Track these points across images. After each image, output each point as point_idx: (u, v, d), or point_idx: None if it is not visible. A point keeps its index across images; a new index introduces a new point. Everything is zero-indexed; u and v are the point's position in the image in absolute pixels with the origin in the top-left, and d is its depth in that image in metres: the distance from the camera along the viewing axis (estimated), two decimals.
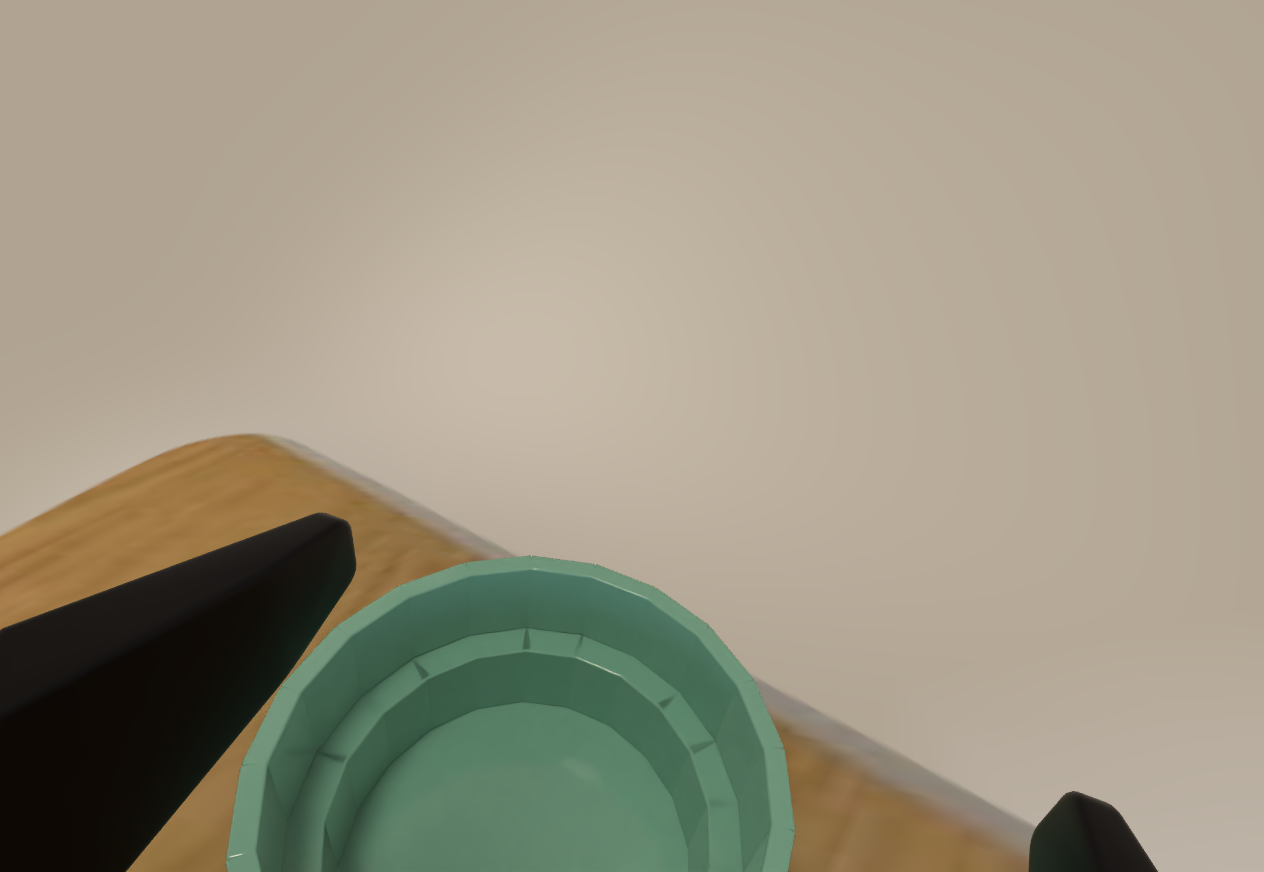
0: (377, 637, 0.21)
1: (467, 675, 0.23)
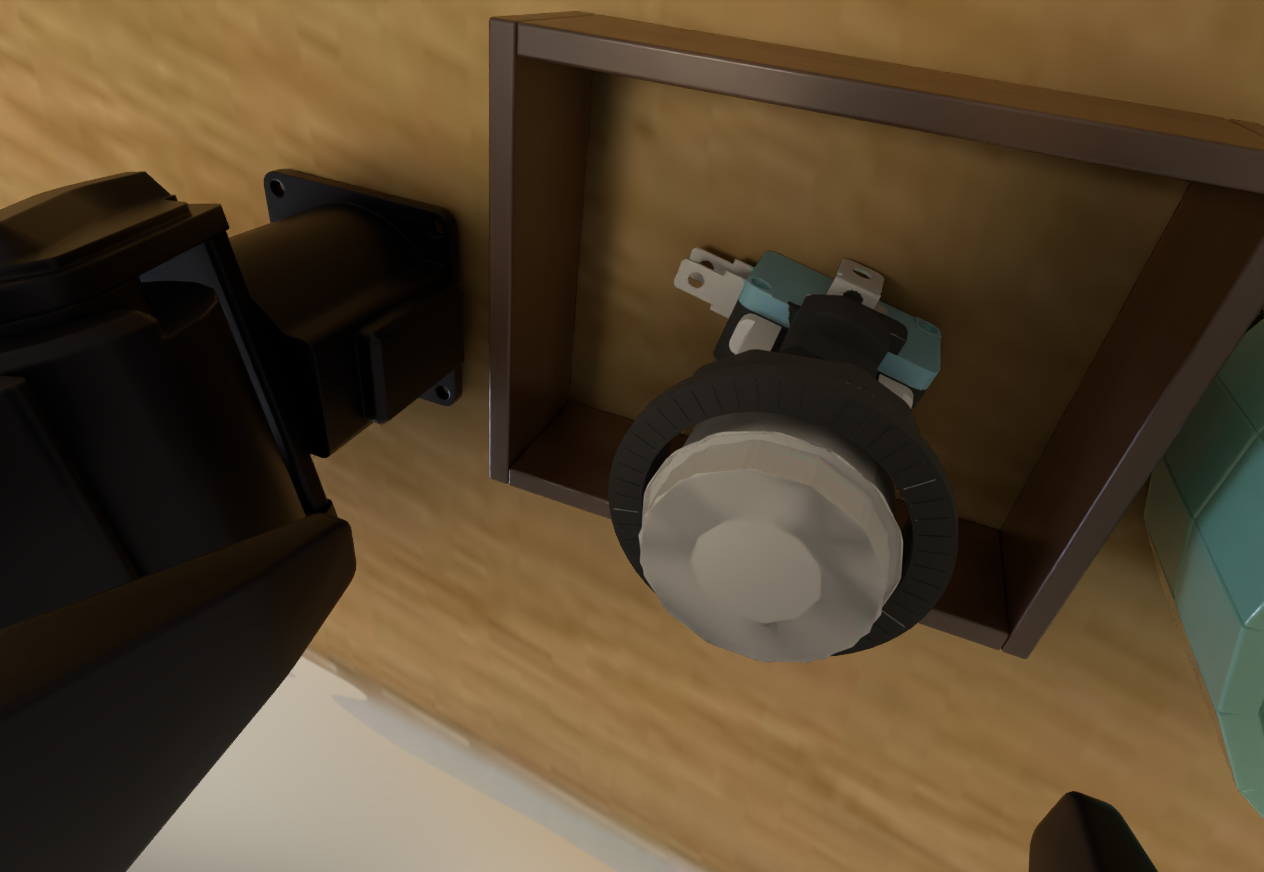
0: None
1: None
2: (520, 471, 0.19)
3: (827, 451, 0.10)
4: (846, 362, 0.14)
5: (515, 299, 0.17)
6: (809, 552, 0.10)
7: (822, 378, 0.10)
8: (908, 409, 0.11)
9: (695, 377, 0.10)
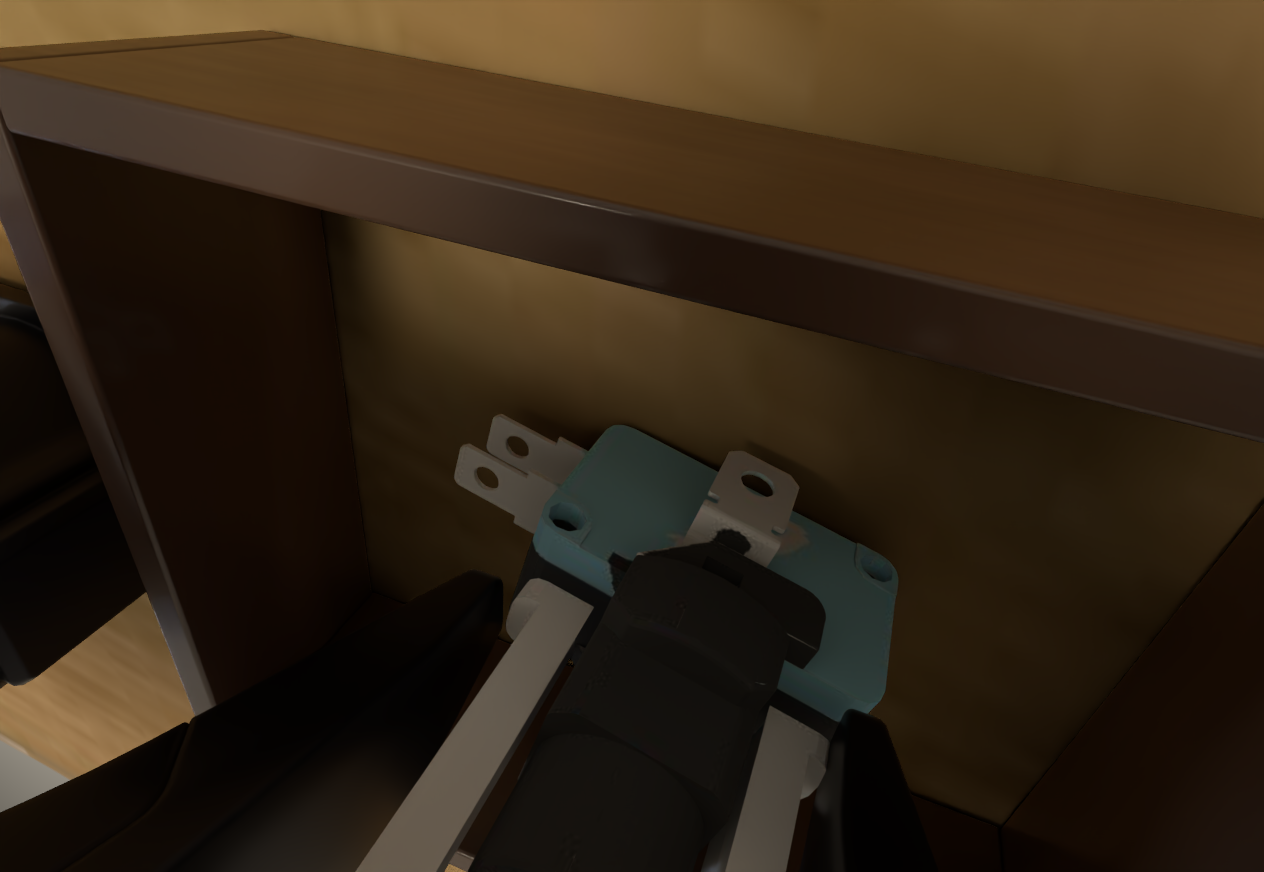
0: None
1: None
2: None
3: None
4: (678, 744, 0.07)
5: (168, 529, 0.10)
6: None
7: None
8: None
9: None
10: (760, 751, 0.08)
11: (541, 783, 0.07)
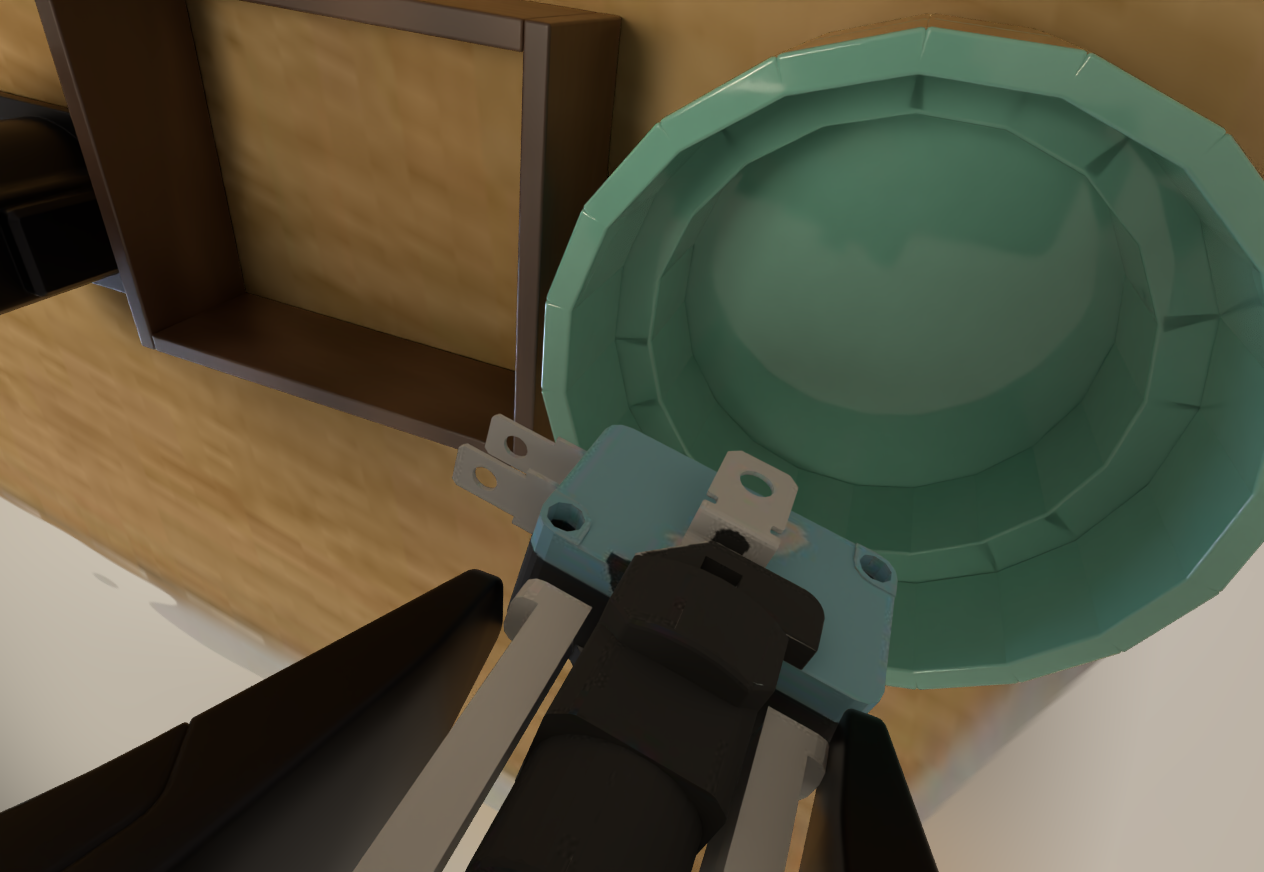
0: None
1: None
2: (161, 337, 0.23)
3: None
4: (675, 744, 0.07)
5: (111, 177, 0.20)
6: None
7: None
8: None
9: None
10: (758, 752, 0.08)
11: (538, 784, 0.07)
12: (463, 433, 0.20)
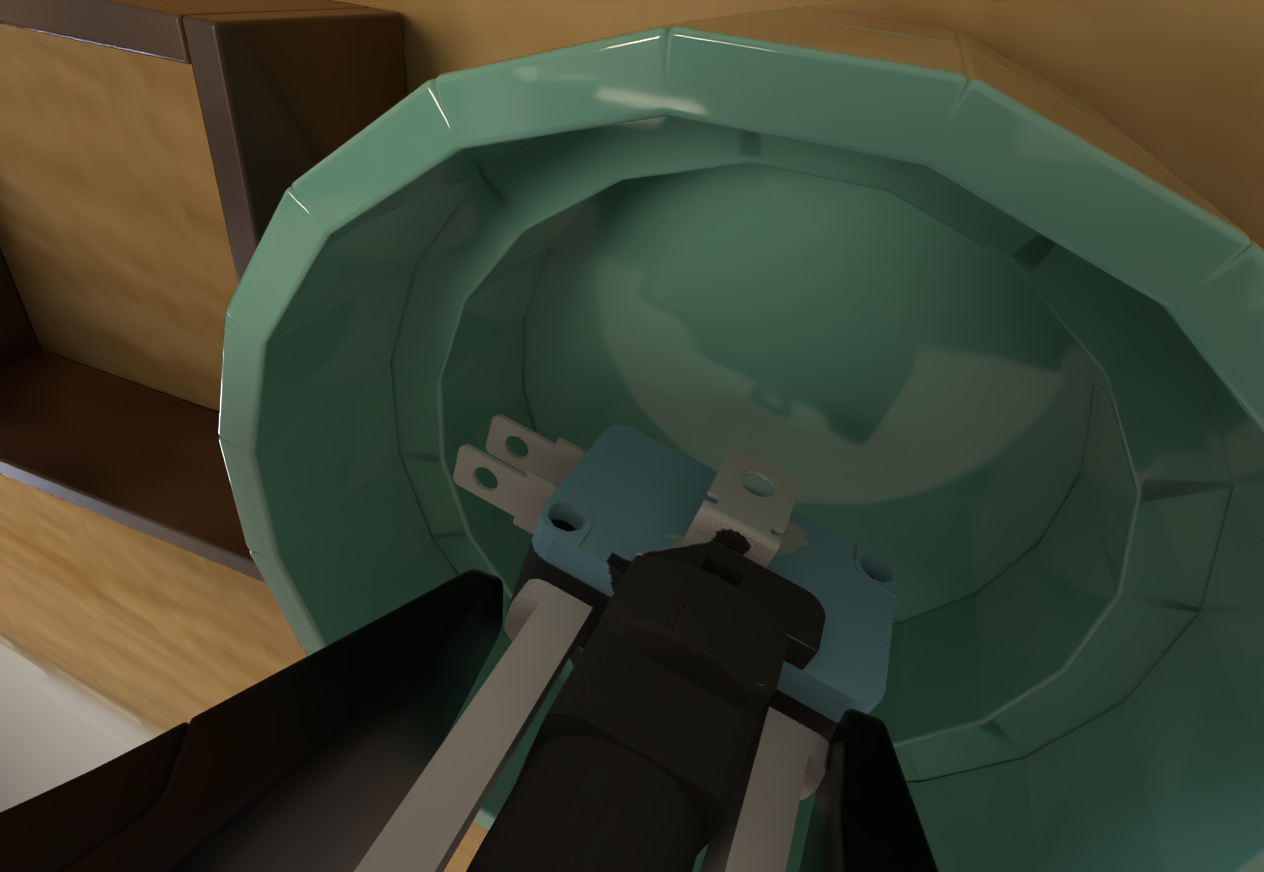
0: None
1: None
2: None
3: None
4: (676, 744, 0.07)
5: None
6: None
7: None
8: None
9: None
10: (759, 752, 0.08)
11: (539, 784, 0.07)
12: (243, 554, 0.16)
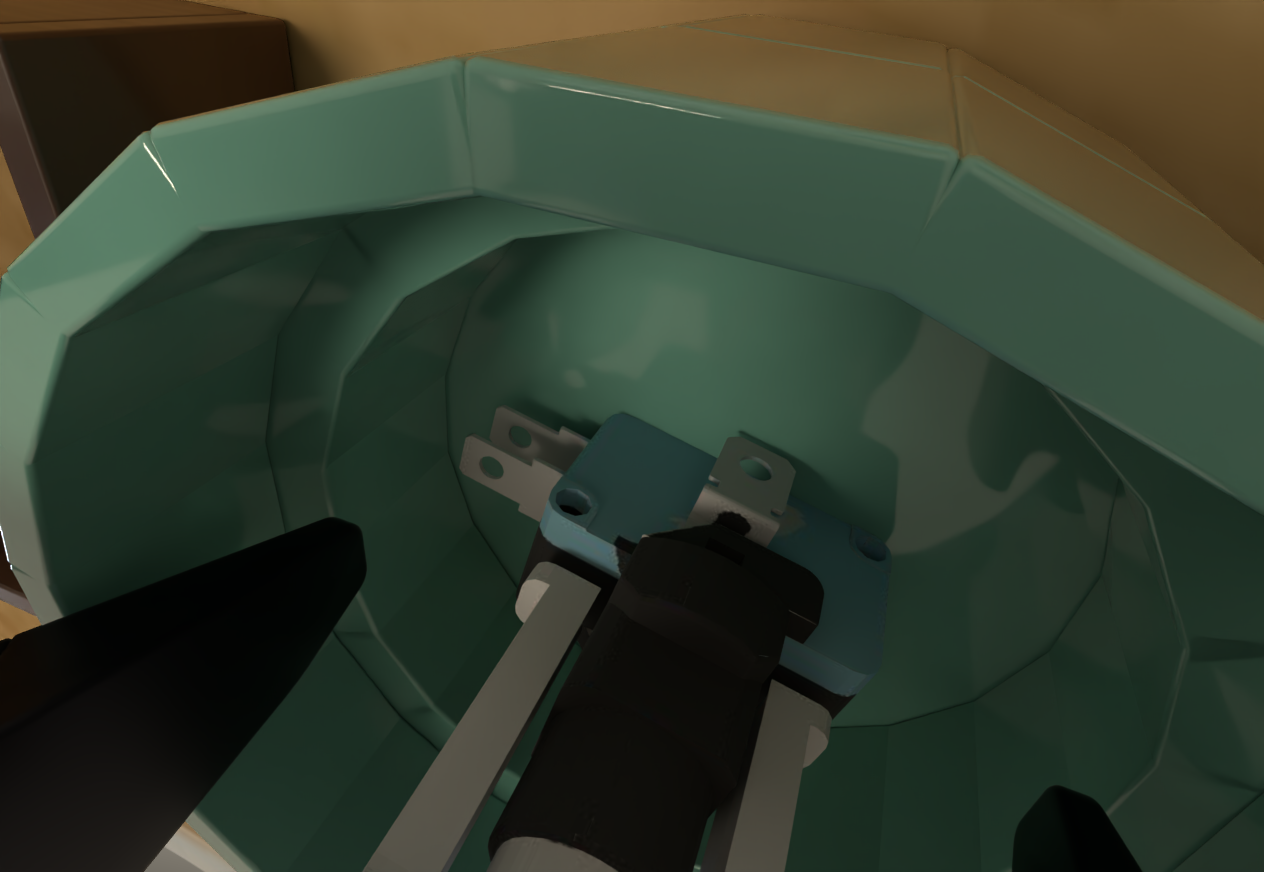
0: None
1: None
2: None
3: None
4: (687, 714, 0.07)
5: None
6: None
7: None
8: None
9: None
10: (764, 721, 0.08)
11: (558, 753, 0.07)
12: None
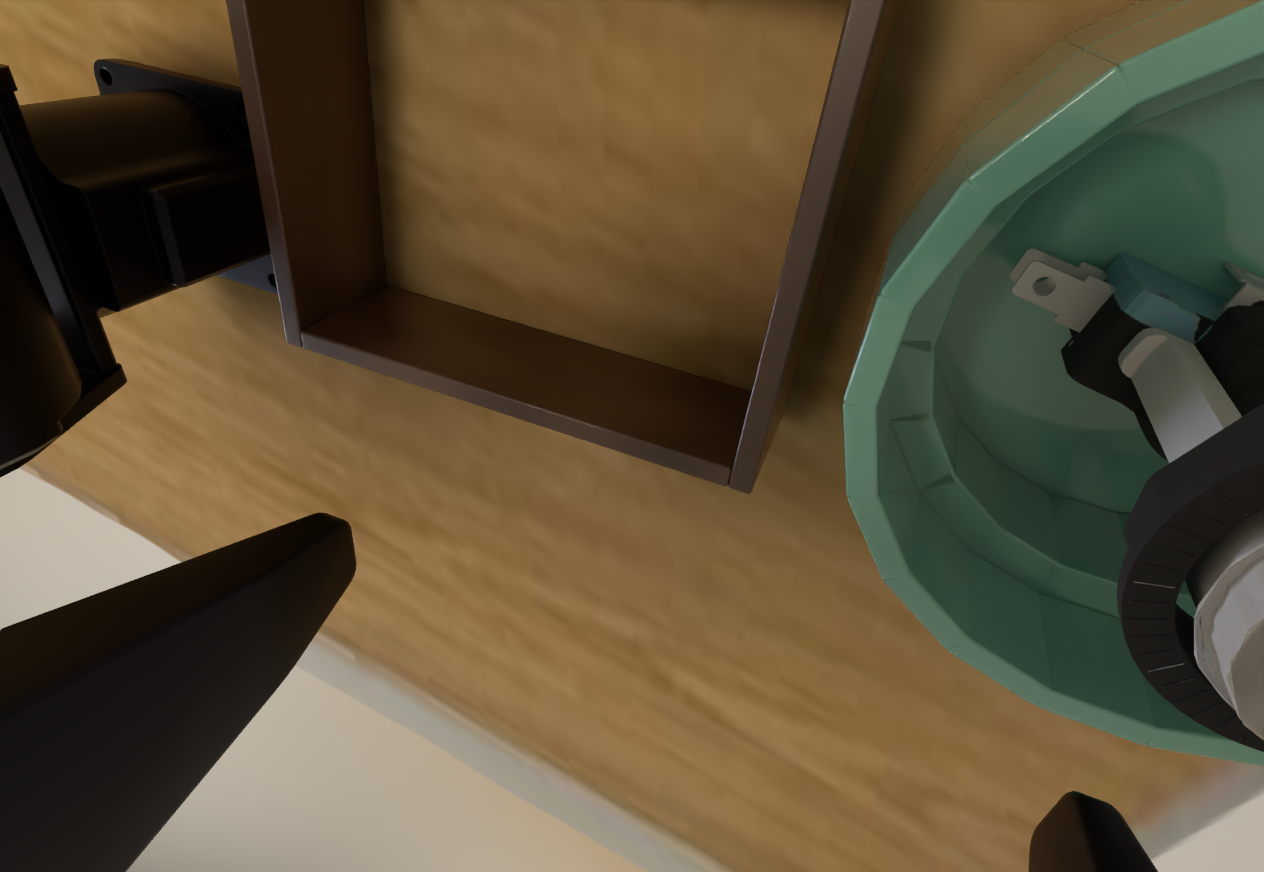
0: None
1: None
2: (311, 333, 0.21)
3: None
4: None
5: (277, 152, 0.18)
6: None
7: None
8: None
9: None
10: None
11: None
12: (670, 447, 0.18)
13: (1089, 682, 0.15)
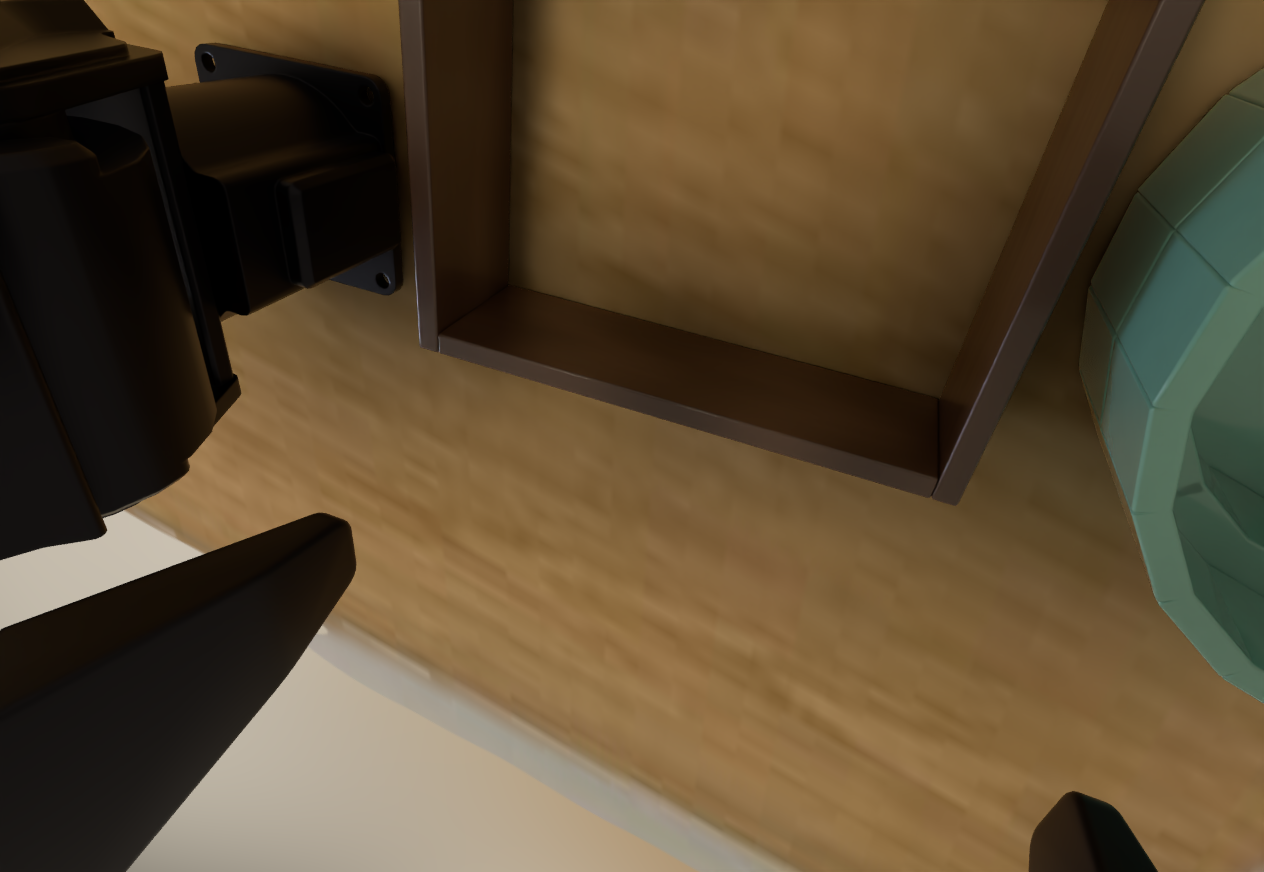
0: None
1: None
2: (450, 337, 0.19)
3: None
4: None
5: (434, 138, 0.16)
6: None
7: None
8: None
9: None
10: None
11: None
12: (867, 456, 0.16)
13: None
